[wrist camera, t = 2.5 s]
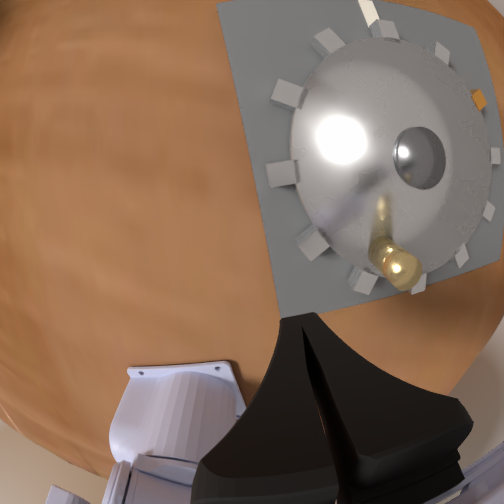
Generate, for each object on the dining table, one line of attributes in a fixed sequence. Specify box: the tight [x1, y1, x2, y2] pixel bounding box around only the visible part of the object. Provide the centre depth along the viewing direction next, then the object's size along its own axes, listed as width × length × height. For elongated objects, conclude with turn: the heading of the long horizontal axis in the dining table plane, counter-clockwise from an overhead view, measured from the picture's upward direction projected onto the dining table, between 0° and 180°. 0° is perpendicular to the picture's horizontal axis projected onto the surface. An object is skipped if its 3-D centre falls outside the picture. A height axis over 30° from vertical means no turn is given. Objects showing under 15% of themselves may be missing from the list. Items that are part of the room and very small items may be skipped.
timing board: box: [216, 0, 504, 319], centre depth 14 cm, size 21×21×1 cm
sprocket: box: [265, 19, 501, 295], centre depth 12 cm, size 18×18×4 cm
